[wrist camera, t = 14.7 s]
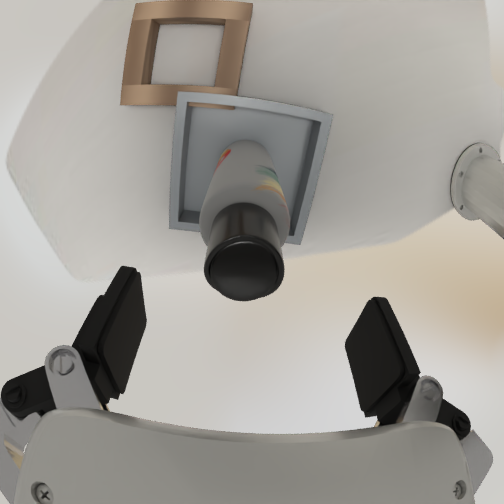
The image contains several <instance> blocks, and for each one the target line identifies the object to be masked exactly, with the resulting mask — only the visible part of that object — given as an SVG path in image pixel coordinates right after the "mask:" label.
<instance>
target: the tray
mask: <svg viewBox="0 0 504 504" xmlns="http://www.w3.org/2000/svg"><path fill="white" fill-rule="evenodd" d="M189 102H198V103H211V104H221V105H230V106H235V109H234V110H227V109H217V108H206V107H193V106H189ZM332 118H333V115H332V114H329V113H325V112H322V111H317V110H313V109H309V108H304V107H300V106H295V105H290V104H285V103H280V102H274V101H269V100H262V99H256V98H249V97H242V96H232V95H222V94H212V93H199V92H178V96H177V105H176V114H175V124H174V135H173V148H172V162H171V181H170V209H169V229H177V230H185V231H194V232H200V227H199V218H200V212H201V209H202V206H203V202H204V200H205V197H206V194H207V191H208V188H209V186H210V183H211V180H212V178H213V175H214V172H215V170H216V167H217V164H218V162H219V159H220V157H221V155H222V153H223V152H224V150H225V149H226V148H227V147H228V146H229V145H231V144H232V143H234V142H237V141H240V140H251V141H254V142H257V143H259V144H260V145H262V146H263V147H264V148H265V149H266V150H267V152H268V153H269V155H270V157H271V160H272V163H273V166H274V169H275V171H276V174H277V177H278V180H279V183H280V186H281V189H282V192H283V195H284V198H285V201H286V204H287V207H288V211H289V216H290V229H289V234H288V237H287V239H286V241H285V243H290V244H298V245H300V244H301V241H302V237H303V234H304V230H305V227H306V223H307V219H308V216H309V212H310V208H311V204H312V200H313V197H314V193H315V189H316V185H317V181H318V177H319V173H320V169H321V165H322V161H323V157H324V153H325V148H326V144H327V140H328V135H329V131H330V127H331V122H332Z"/></svg>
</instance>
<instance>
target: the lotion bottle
mask: <svg viewBox="0 0 504 504" xmlns="http://www.w3.org/2000/svg"><path fill="white" fill-rule="evenodd" d="M199 227H200V232H201V236H202V238H203V240H204V242H205V244H206V245H207V246H208V247H207V252H206V258H205V264H204V274H205V277H206V280H207V281H208V283H209V284H210V285H211V286H212V287H213V288H214V289H216V290H217V291H219V292H220V293H221V294H222V295H224V296H226V297H227V298H230V299H232V300H236V301H251V300H255V299H258V298H261V297H265V296H267V295H269V294H271V293H273V292H274V291H275V290H277V289H278V287H279V286H280V284H281V283H282V280H283V277H284V261H283V256H282V250H281V247H282V246H283V244H284V243H285V241H286V239H287V237H288V234H289V229H290V216H289V211H288V207H287V204H286V201H285V198H284V195H283V192H282V189H281V186H280V183H279V180H278V177H277V174H276V171H275V169H274V166H273V163H272V160H271V157H270V155H269V153H268V152H267V150H266V149H265V148H264V147H263V146H262V145H260V144H259V143H257V142H254V141H251V140H240V141H237V142H234V143H232V144H231V145H229V146H228V147H227V148H226V149H225V150H224V152H223V153H222V155H221V157H220V159H219V162H218V164H217V167H216V170H215V172H214V175H213V178H212V180H211V183H210V186H209V188H208V191H207V194H206V197H205V200H204V202H203V206H202V209H201V212H200V218H199Z"/></svg>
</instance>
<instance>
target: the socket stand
mask: <svg viewBox="0 0 504 504" xmlns="http://www.w3.org/2000/svg"><path fill="white" fill-rule="evenodd" d="M252 8H253V3H245V2H234V1H220V0H169V1H155V2H145V3H136V5H135V9H134V13H133V18H132V23H131V28H130V33H129V38H128V44H127V50H126V57H125V64H124V72H123V80H122V90H121V102H120V105H175V106H176V105H177V96H178V92H199V93H212V94H222V95H232V96H237V93H238V87H239V81H240V75H241V69H242V63H243V58H244V52H245V46H246V41H247V36H248V31H249V25H250V20H251V15H252ZM161 24H211V25H225V28H224V34H223V39H222V44H221V50H220V56H219V62H218V68H217V74H216V80H215V86H214V87H208V86H193V85H150V84H151V76H152V69H153V62H154V55H155V49H156V43H157V37H158V32H159V27H160V25H161ZM189 106H193V107H206V108H217V109H227V110H234V109H235V106H230V105H221V104H211V103H198V102H189Z"/></svg>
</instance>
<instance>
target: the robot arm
mask: <svg viewBox="0 0 504 504" xmlns="http://www.w3.org/2000/svg"><path fill="white" fill-rule="evenodd" d="M451 196H452V202H453V204H454V207H455V209H456V210H457V212H458V213H459V214H460V215H461V216H462V217H464V218H465V219H468V220H477V219H481V220H482V221H483V222H485V223H486V224H487V225H488V226H489V227H490V228H492V229H493V230H494V231H495V232H496V233H498V234H499V235H500V236H501V237H502V238H503V239H504V164H503V163H502V162H501V160H500V157H499V155H498V153H497V152H496V151H495V150H494V149H493V148H492V147H490V146H488V145H486V144H483V143H477V144H474V145H472V146H470V147H469V148H468V149H467V150H466V151H465V152H464V153H463V154H462V156H461V157H460V158H459V160H458V162H457V164H456V167H455V170H454V173H453V177H452V184H451ZM146 322H147V319H146V313H145V305H144V298H143V291H142V282H141V274H140V272H137V270H136V268H133V267H127V266H121V267H120V269H119V270H118V272H117V274H116V275H115V277H114V279H113V281H112V282H111V284H110V286H109V287H108V289H107V291H106V293H105V294H104V295H100V296H99V297H98V298H97V300H96V302H95V303H94V305H93V307H92V309H91V311H90V312H89V314H88V316H87V318H86V320H85V321H84V323H83V325H82V327H81V329H80V331H79V333H78V335H77V337H76V339H75V341H74V343H73V345H72V347H71V346H66V345H62V346H57V347H55V348H53V349H52V350H51V351H50V352H49V353H48V355H47V356H46V359H45V365H44V366H42V367H39V368H37V369H35V370H32V371H30V372H27V373H25V374H23V375H20V376H18V377H15V378H13V379H11V380H9V381H7V382H6V383H5V385H4V386H3V388H2V391H1V398H0V490H1V492H2V493H3V495H4V496H5V497H6V499H7V500H8V501H9V503H10V504H475V500H474V494H475V493H476V491H477V489H478V488H479V486H480V484H481V483H482V481H483V480H484V478H485V476H486V475H487V473H488V471H489V469H490V467H491V465H492V462H493V456H492V453H491V451H490V450H489V448H488V447H487V446H486V445H485V443H484V442H483V441H482V440H481V439H480V437H479V436H478V435H477V434H476V433H475V431H474V430H472V431H470V428H471V425H470V420H469V418H468V416H467V415H466V414H465V413H464V412H462V411H461V410H459V409H458V408H456V407H455V406H453V405H452V404H450V403H449V402H447V401H446V400H444V399H443V390H442V387H441V385H440V384H439V382H438V381H437V380H436V379H435V378H433V377H431V376H422V377H421V378H420V377H419V374H420V373H421V372H420V370H419V367H418V365H417V363H416V360H415V358H414V356H413V353H412V351H411V349H410V346H409V344H408V342H407V340H406V338H405V335H404V333H403V331H402V329H401V327H400V325H399V322H398V321H397V318H396V316H395V314H394V312H393V310H392V308H391V306H390V304H389V302H388V300H387V299H386V298H384V297H373V298H372V299H371V300H369V301H368V302H367V304H366V306H365V307H364V309H363V311H362V313H361V315H360V316H359V318H358V320H357V322H356V324H355V325H354V327H353V329H352V331H351V332H350V334H349V336H348V338H347V339H346V342H345V349H346V352H347V356H348V360H349V363H350V368H351V372H352V375H353V379H354V383H355V387H356V391H357V395H358V399H359V404H360V408H361V410H362V411H364V414H365V417H371V416H376V415H377V419H378V420H377V422H376V424H375V426H374V427H371V428H364V429H357V430H349V431H338V432H326V433H308V434H255V433H237V432H225V431H214V430H205V429H198V428H191V427H184V426H178V425H172V424H166V423H161V422H156V421H151V420H146V419H140V418H136V417H132V416H128V415H123V414H119V413H114V412H110V410H109V408H108V406H107V403H109V400H110V398H114V399H117V400H118V398H119V395H120V393H121V394H123V393H124V392H125V389H126V385H127V382H128V379H129V375H130V372H131V369H132V366H133V363H134V359H135V357H136V354H137V351H138V348H139V345H140V342H141V339H142V336H143V333H144V330H145V328H146ZM27 443H28V444H27ZM26 444H27V447H26V450H25V453H23V451H24V447H25V445H26Z"/></svg>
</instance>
